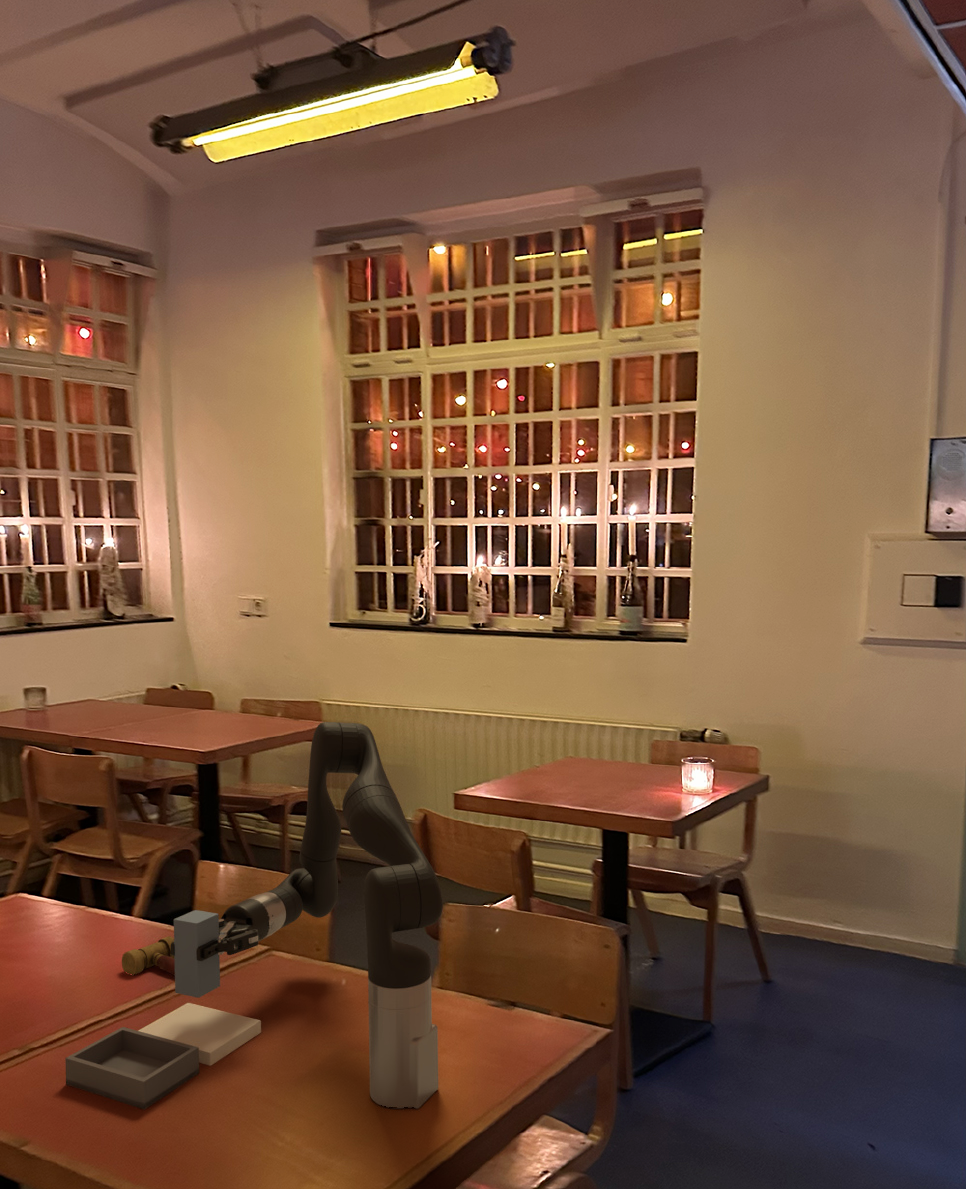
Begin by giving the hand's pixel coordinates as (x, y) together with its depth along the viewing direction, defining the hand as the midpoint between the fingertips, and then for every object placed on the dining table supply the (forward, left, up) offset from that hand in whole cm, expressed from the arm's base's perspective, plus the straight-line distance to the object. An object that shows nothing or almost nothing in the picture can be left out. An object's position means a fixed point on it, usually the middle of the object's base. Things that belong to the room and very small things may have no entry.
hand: (185, 952), depth 154 cm
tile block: (0, -3, -7) cm, 7 cm away
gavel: (+22, -21, -16) cm, 34 cm away
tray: (0, +11, -15) cm, 19 cm away
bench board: (0, -3, -15) cm, 16 cm away
